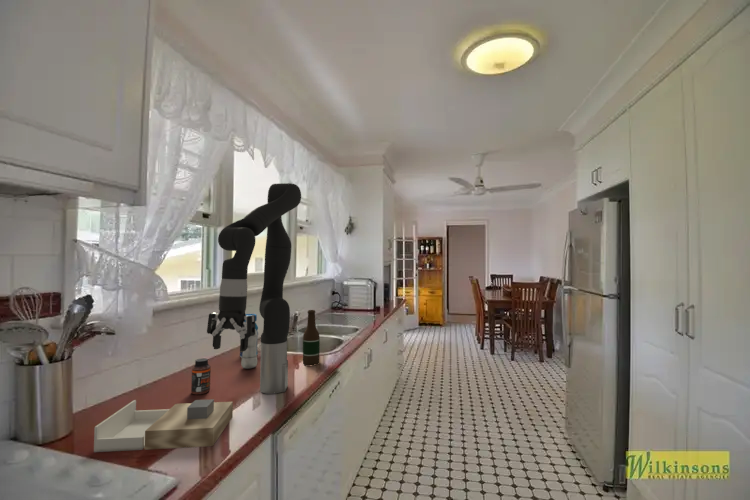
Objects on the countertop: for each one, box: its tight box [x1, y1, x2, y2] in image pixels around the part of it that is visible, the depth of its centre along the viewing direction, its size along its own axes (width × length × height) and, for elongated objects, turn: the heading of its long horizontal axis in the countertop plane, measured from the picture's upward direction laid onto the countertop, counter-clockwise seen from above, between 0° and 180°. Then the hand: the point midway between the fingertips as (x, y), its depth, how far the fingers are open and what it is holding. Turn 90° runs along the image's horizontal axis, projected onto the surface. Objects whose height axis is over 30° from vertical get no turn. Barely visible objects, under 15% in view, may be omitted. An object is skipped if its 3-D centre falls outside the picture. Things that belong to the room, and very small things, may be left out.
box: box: [93, 399, 170, 453], centre depth 91 cm, size 11×16×6 cm
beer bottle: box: [302, 309, 321, 366], centre depth 154 cm, size 8×8×24 cm
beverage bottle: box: [239, 313, 259, 359], centre depth 166 cm, size 8×8×20 cm
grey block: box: [187, 398, 215, 419], centre depth 93 cm, size 5×5×3 cm
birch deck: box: [144, 401, 234, 450], centre depth 93 cm, size 16×16×4 cm
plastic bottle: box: [240, 322, 258, 370], centre depth 148 cm, size 6×7×20 cm
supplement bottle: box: [190, 357, 211, 396], centre depth 120 cm, size 6×6×11 cm
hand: (229, 349), depth 100 cm, fingers open, 8 cm apart
